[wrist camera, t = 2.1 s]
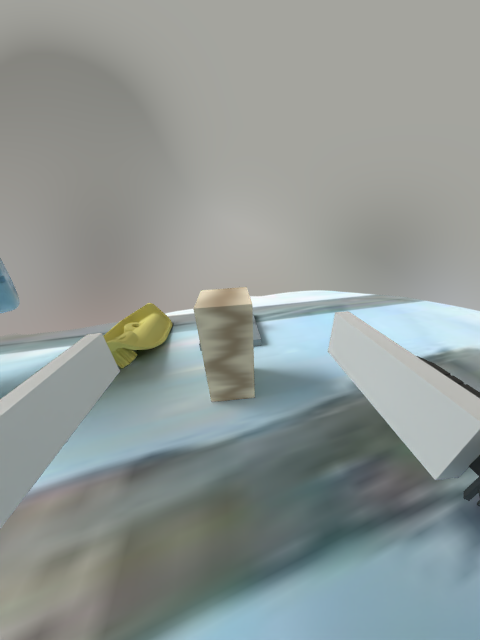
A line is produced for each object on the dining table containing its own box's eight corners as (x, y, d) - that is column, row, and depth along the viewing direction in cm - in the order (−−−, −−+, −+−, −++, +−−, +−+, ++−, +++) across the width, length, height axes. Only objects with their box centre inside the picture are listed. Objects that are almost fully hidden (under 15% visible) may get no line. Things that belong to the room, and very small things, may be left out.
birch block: (211, 401, 25) (193, 308, 18) (214, 371, 30) (200, 290, 24) (254, 397, 25) (252, 303, 18) (249, 367, 30) (246, 287, 24)
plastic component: (121, 320, 45) (154, 299, 44) (142, 341, 48) (173, 322, 47) (63, 370, 27) (118, 335, 26) (103, 399, 30) (153, 369, 29)
